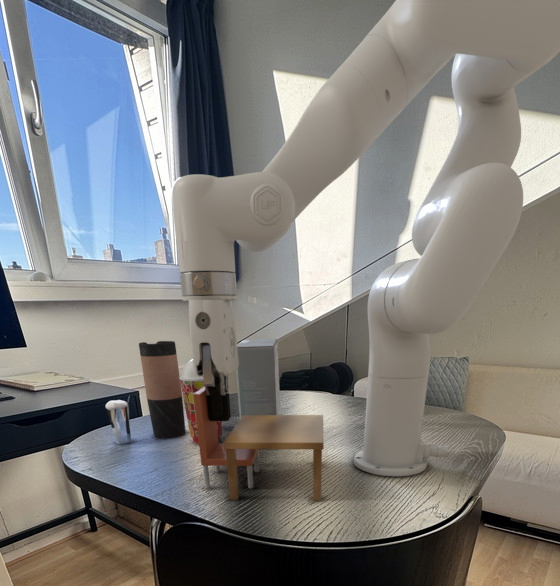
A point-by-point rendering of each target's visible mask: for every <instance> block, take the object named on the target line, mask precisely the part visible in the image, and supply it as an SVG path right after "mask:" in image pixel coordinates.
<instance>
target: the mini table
mask: <svg viewBox="0 0 560 586" xmlns="http://www.w3.org/2000/svg"><path fill="white" fill-rule="evenodd" d="M233 427H234V428H232V430H231V432H230V433H229V434H228V435H227V437H226V438H225V440H224V441H223V444H224V449H226V457H227V466H226V467H227V480H228V490H229V491H228V492H229V501H231V500H232V501H238V500H239V498H240V487H239V475H238V473H239V472H238V466H237V460H236V449H259V450H312V501H313V502H321V501H322V475H323V473H322V471H323V469H322V468H323V450H324V448H325V447H324V446H325V445H324V440H325V439H324V415H323V414H281V415H243V416H242V418H241V419H240V418H239V421H237V422H236V425H235V426H233ZM253 465H254V464H253ZM253 465H252V467H253Z"/></svg>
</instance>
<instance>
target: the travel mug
mask: <svg viewBox="0 0 560 586" xmlns="http://www.w3.org/2000/svg"><path fill="white" fill-rule="evenodd" d="M176 346H177V345H176V342H175V341H174V340H159V341H157V342H156V343H148V342H146V341H145V342H144V341H142V342H139V343H138V348H139V349H138V350H139V356H140V362H141V368H142V375H143V383H144V388H145V396H146V401H147V406H148V407H147V408H148V411H149V417H150V422H151V427H152V432H153V436H154V437H155V438H156V439H163V440H168V439H169V440H170V439H177V438H181V437H183V436H185V435H186V421H185V412H184V411H185V410H184V399H183V393H182V388H181V382H180V379H179V377H180V376H181V375H180V370H179V362H178V354H177V347H176Z"/></svg>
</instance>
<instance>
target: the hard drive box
mask: <svg viewBox="0 0 560 586" xmlns="http://www.w3.org/2000/svg"><path fill="white" fill-rule="evenodd" d="M278 344H279V343H278V339H276V338H263V339H261V338H260V339H243V340H242V341H241V342H239V343H237V350H238V360H239V366H238V368H237V369H236V370H235V373H236V384H237V386H236V387H237V399H238V412H239V420H240V419H241V418H242V416H243V415H282V414H281V395H280V370H279V345H278Z"/></svg>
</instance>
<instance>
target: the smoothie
mask: <svg viewBox="0 0 560 586" xmlns="http://www.w3.org/2000/svg"><path fill="white" fill-rule="evenodd" d="M179 376H180V377H179V379H180V383H181V390H182V399H183V405H184V408H185V410H184V411H185V413H186V420H187V425H188V431H189V436H190V438H192V441H193V443H195V444H197V445H199V439H198V430H197V421H196V412H195V404H194V395H193V394H194V393H196V392H197V391H199V390H200V389H202V388H203V387H205V386H204V384H203V375H202V376H198V375H197V374H196V373H195V372H194V367H193V360H192V359H190V360H188V361H187V362H186V363H185V365H184V366H183V367H182V369H181V373H180V375H179ZM217 432H218V442H220V440H221V436H222V435H223V421H217Z"/></svg>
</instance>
